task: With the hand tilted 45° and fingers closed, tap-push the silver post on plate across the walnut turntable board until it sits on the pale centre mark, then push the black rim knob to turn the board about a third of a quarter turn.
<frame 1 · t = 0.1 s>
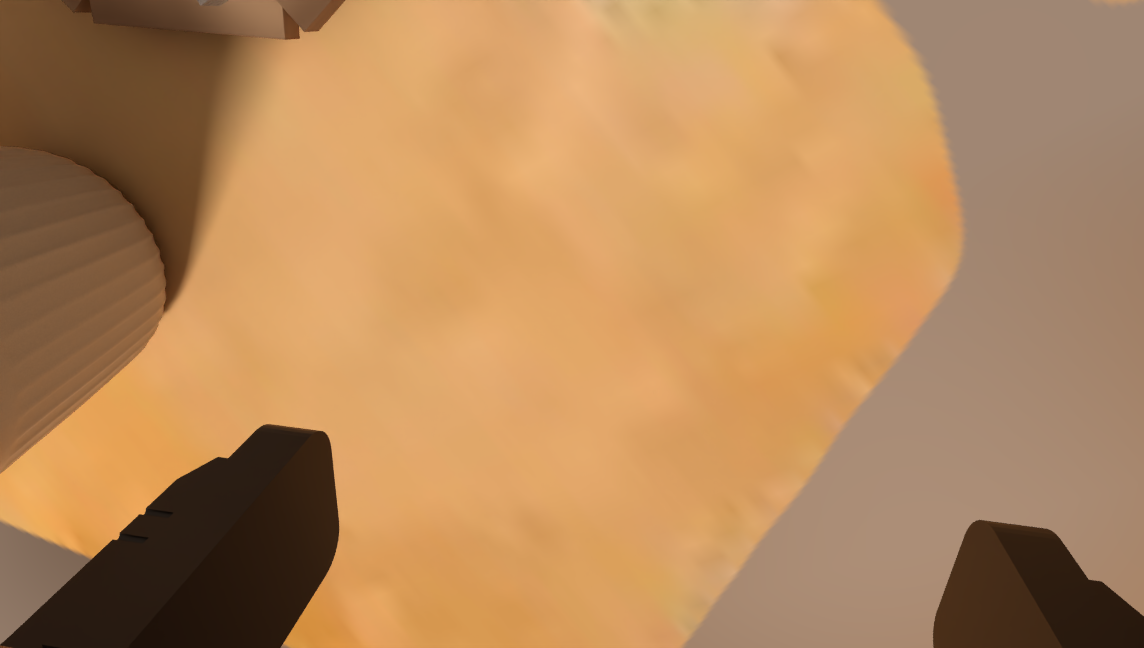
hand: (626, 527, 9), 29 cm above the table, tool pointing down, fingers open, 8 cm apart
canister: (83, 252, 44), on the table
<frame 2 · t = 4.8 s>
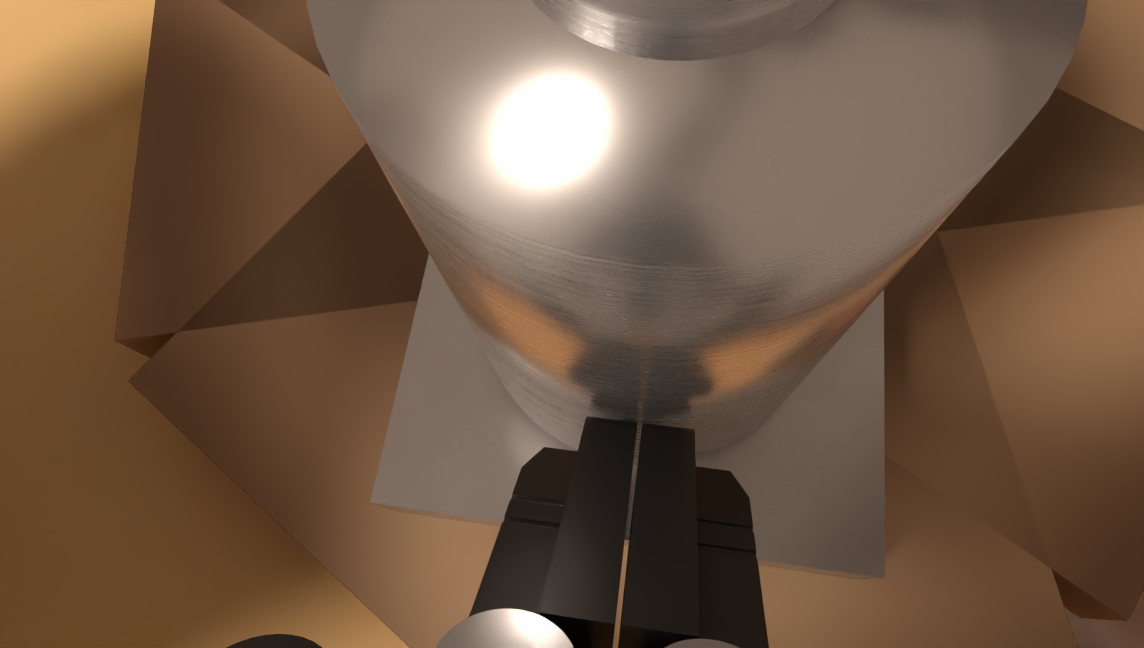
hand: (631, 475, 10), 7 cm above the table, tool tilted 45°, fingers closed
silver post on plate: (643, 327, 15), point 3 cm above the table
turntable: (678, 41, 16), point 4 cm above the table, hinge at 0.0°
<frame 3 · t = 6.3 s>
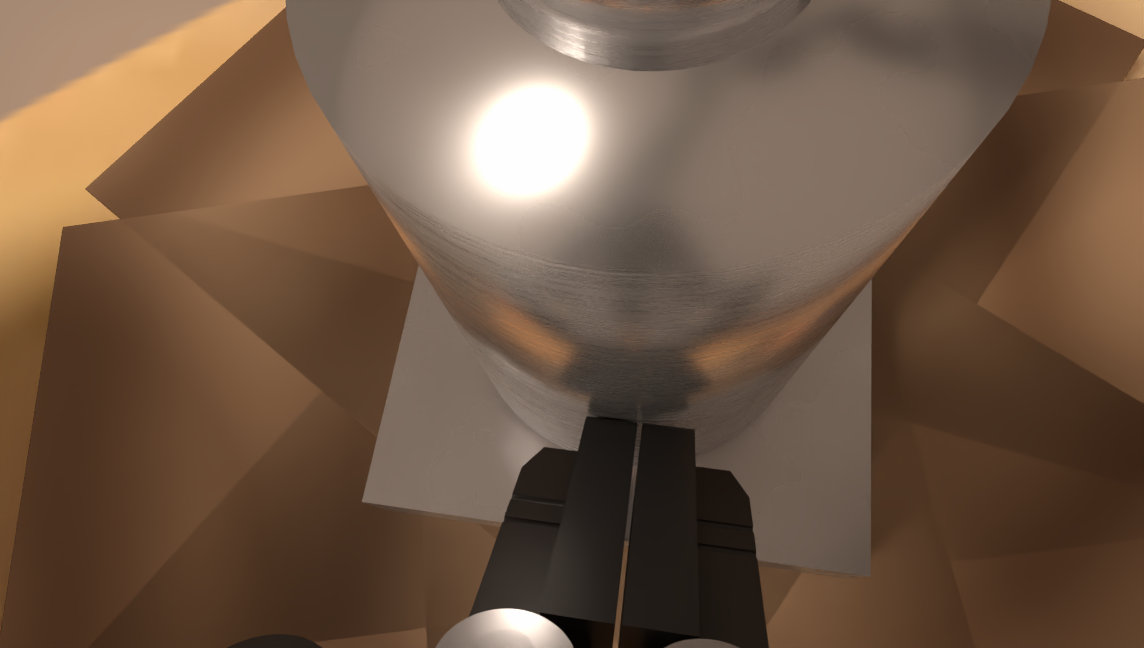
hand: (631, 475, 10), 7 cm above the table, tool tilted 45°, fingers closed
silver post on plate: (634, 328, 15), point 3 cm above the table, touching gripper
turntable: (648, 327, 14), point 4 cm above the table, hinge at 0.0°
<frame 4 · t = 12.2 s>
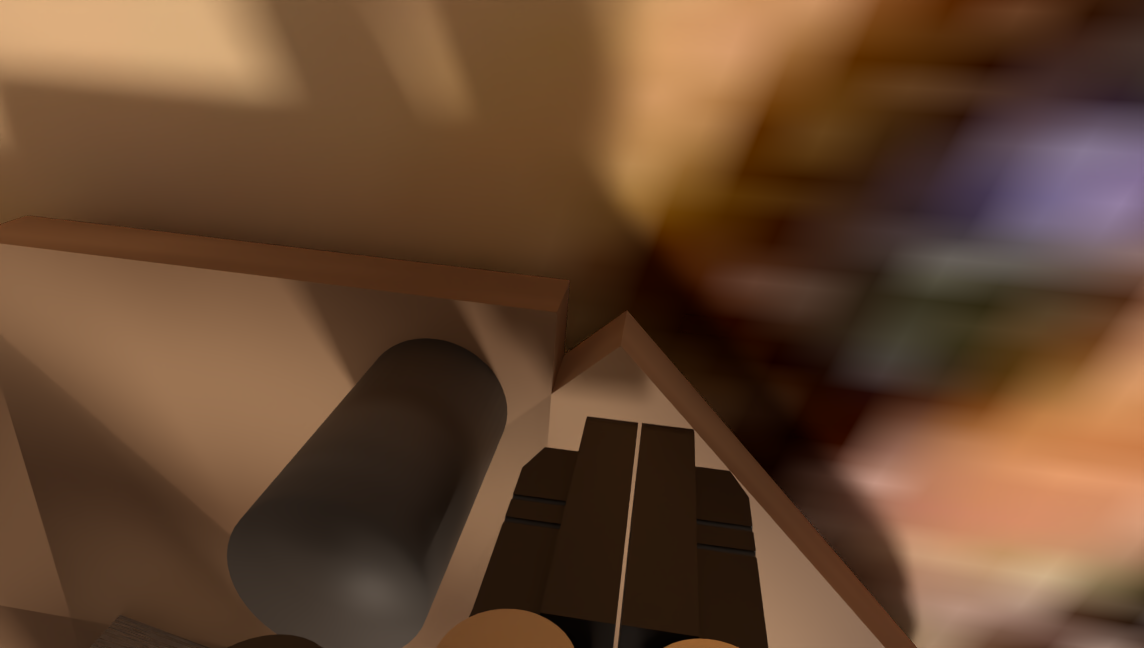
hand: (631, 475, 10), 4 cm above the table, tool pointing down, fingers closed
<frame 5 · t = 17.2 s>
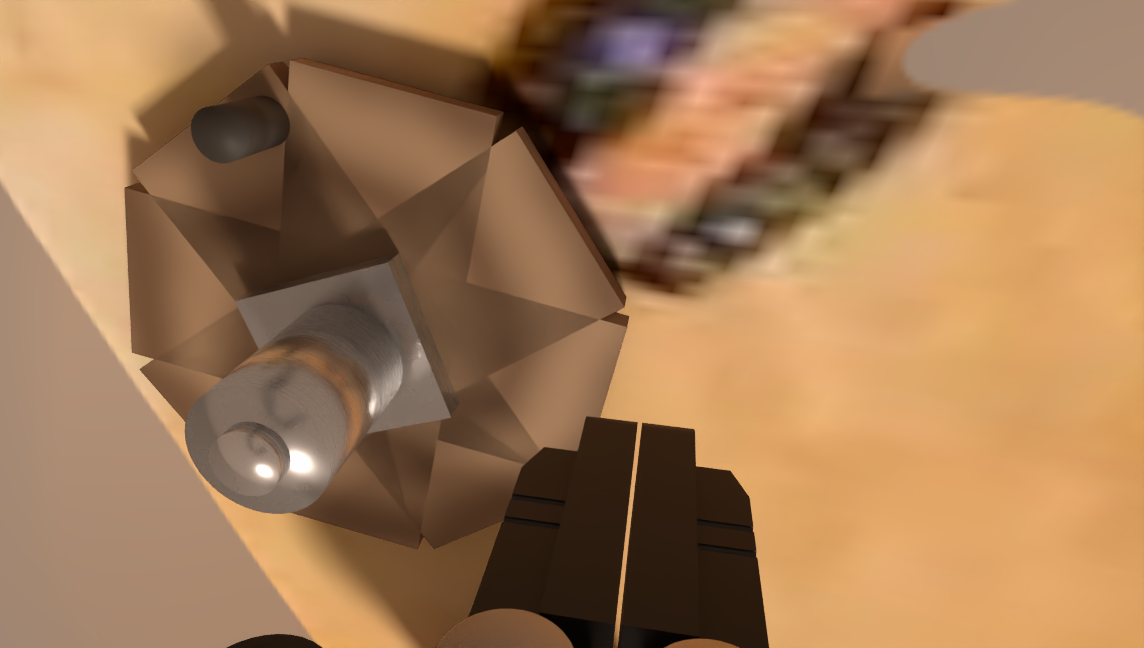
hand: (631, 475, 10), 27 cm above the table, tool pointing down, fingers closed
silver post on plate: (356, 347, 39), point 2 cm above the table, touching turntable
turntable: (352, 351, 37), point 4 cm above the table, hinge at 36.8°, touching silver post on plate
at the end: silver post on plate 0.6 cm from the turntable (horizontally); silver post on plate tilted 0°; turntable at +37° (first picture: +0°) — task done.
